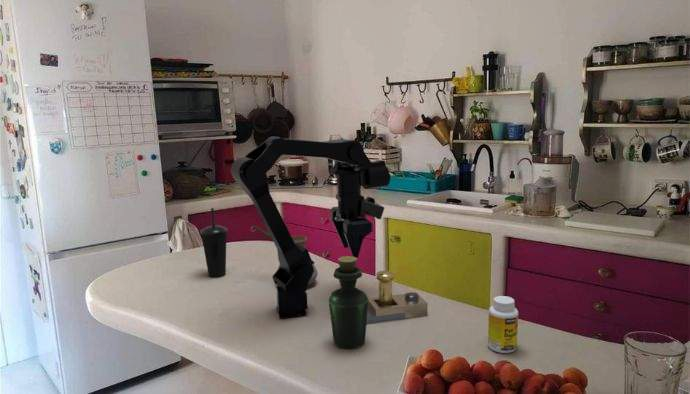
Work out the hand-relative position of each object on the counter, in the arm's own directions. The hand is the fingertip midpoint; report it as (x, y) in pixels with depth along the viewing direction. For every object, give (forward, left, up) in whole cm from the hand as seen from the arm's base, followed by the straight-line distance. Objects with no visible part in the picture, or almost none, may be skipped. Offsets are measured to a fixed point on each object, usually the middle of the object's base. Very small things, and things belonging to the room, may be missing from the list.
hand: (350, 252), depth 125 cm
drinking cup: (-33, +29, -12) cm, 46 cm away
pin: (+5, -12, -12) cm, 18 cm away
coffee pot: (-15, +18, -12) cm, 26 cm away
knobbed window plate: (+5, -12, -12) cm, 18 cm away
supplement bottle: (+22, -34, -12) cm, 42 cm away
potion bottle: (-7, -23, -12) cm, 27 cm away
